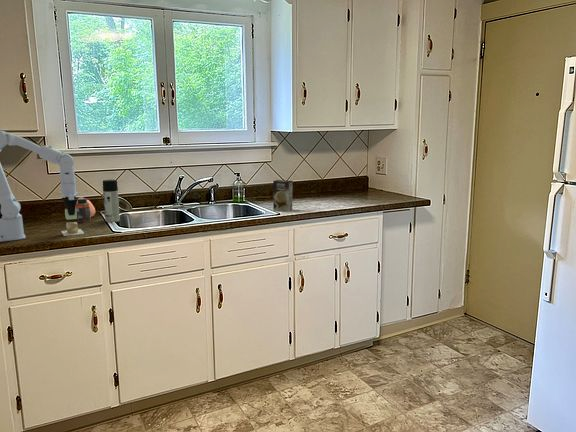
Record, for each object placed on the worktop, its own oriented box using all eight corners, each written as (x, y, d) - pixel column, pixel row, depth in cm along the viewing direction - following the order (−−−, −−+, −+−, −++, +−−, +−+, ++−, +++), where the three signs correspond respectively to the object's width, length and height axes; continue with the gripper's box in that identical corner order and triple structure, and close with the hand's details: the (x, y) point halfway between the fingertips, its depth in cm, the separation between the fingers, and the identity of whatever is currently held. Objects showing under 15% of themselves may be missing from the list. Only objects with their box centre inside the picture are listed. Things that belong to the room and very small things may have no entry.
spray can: (105, 220, 234) (101, 179, 230) (119, 219, 236) (116, 179, 232) (105, 223, 228) (102, 181, 224) (120, 222, 230) (117, 180, 226)
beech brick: (68, 233, 205) (67, 224, 204) (67, 231, 208) (66, 222, 207) (78, 232, 207) (77, 223, 206) (77, 230, 210) (76, 221, 209)
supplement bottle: (92, 220, 234) (90, 197, 232) (88, 223, 228) (86, 199, 226) (80, 220, 234) (78, 197, 232) (75, 223, 228) (73, 199, 226)
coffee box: (272, 210, 258) (272, 180, 255) (277, 208, 264) (277, 179, 261) (288, 211, 255) (288, 181, 252) (292, 209, 261) (292, 180, 258)
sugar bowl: (96, 219, 237) (94, 198, 235) (65, 221, 232) (63, 200, 230) (95, 214, 248) (94, 195, 246) (66, 216, 243) (64, 196, 241)
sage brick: (66, 219, 204) (66, 210, 203) (65, 218, 207) (64, 209, 206) (76, 218, 206) (76, 209, 205) (75, 217, 209) (74, 208, 208)
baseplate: (64, 236, 201) (63, 235, 201) (61, 232, 210) (61, 230, 210) (84, 234, 205) (84, 233, 205) (81, 230, 214) (80, 228, 214)
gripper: (80, 184, 199) (83, 216, 202) (75, 180, 211) (78, 210, 214) (62, 185, 196) (65, 217, 198) (58, 181, 208) (61, 212, 211)
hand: (71, 214), depth 206 cm, fingers closed on sage brick, 4 cm apart
